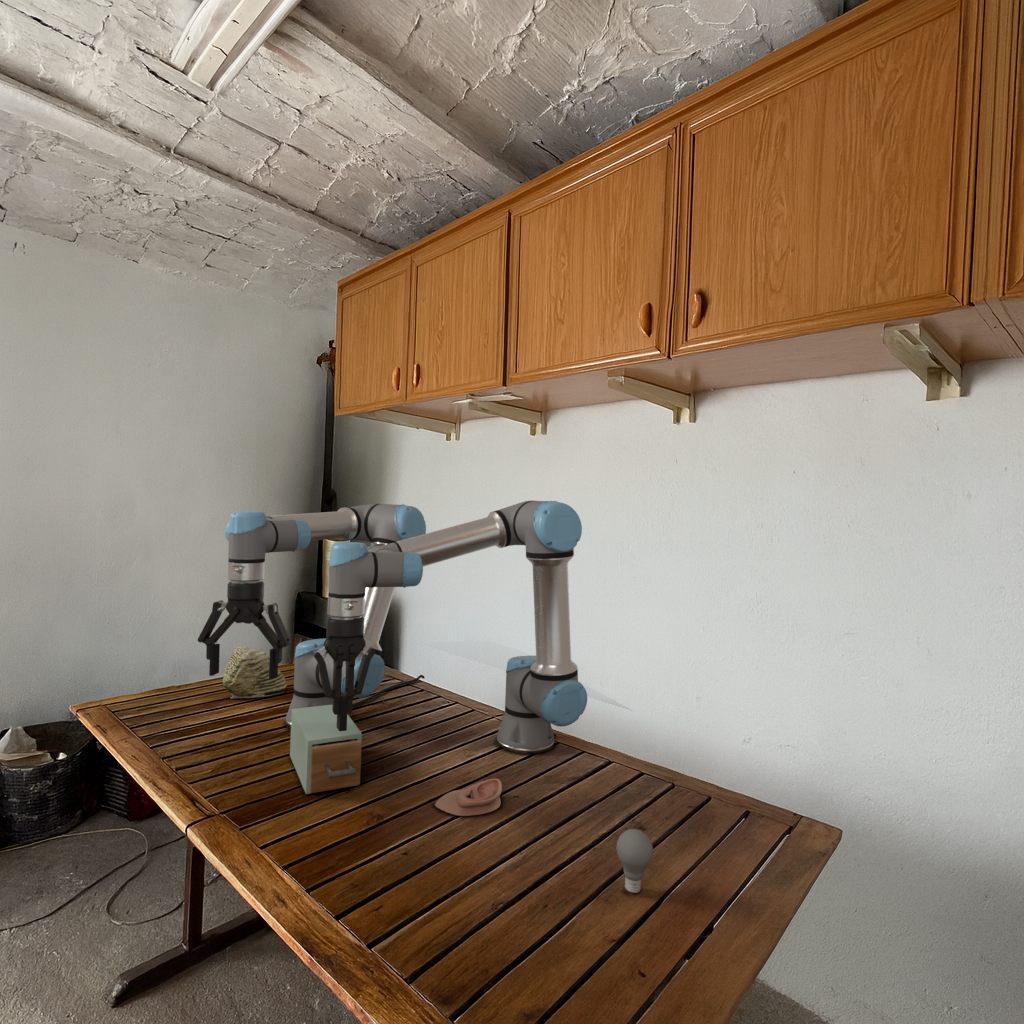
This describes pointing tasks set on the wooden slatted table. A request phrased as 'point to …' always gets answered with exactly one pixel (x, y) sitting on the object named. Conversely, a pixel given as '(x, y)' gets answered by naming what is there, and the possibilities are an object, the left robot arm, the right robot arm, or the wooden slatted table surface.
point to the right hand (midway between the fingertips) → (341, 728)
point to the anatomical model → (472, 799)
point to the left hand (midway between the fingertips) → (243, 675)
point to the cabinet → (315, 736)
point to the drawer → (335, 765)
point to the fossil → (251, 675)
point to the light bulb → (634, 857)
